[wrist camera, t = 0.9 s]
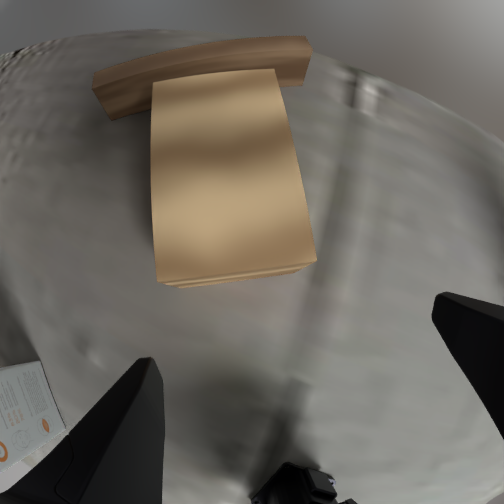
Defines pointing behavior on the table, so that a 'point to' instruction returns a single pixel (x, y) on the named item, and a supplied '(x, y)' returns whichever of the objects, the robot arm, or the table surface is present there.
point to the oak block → (225, 181)
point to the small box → (25, 412)
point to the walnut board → (198, 68)
